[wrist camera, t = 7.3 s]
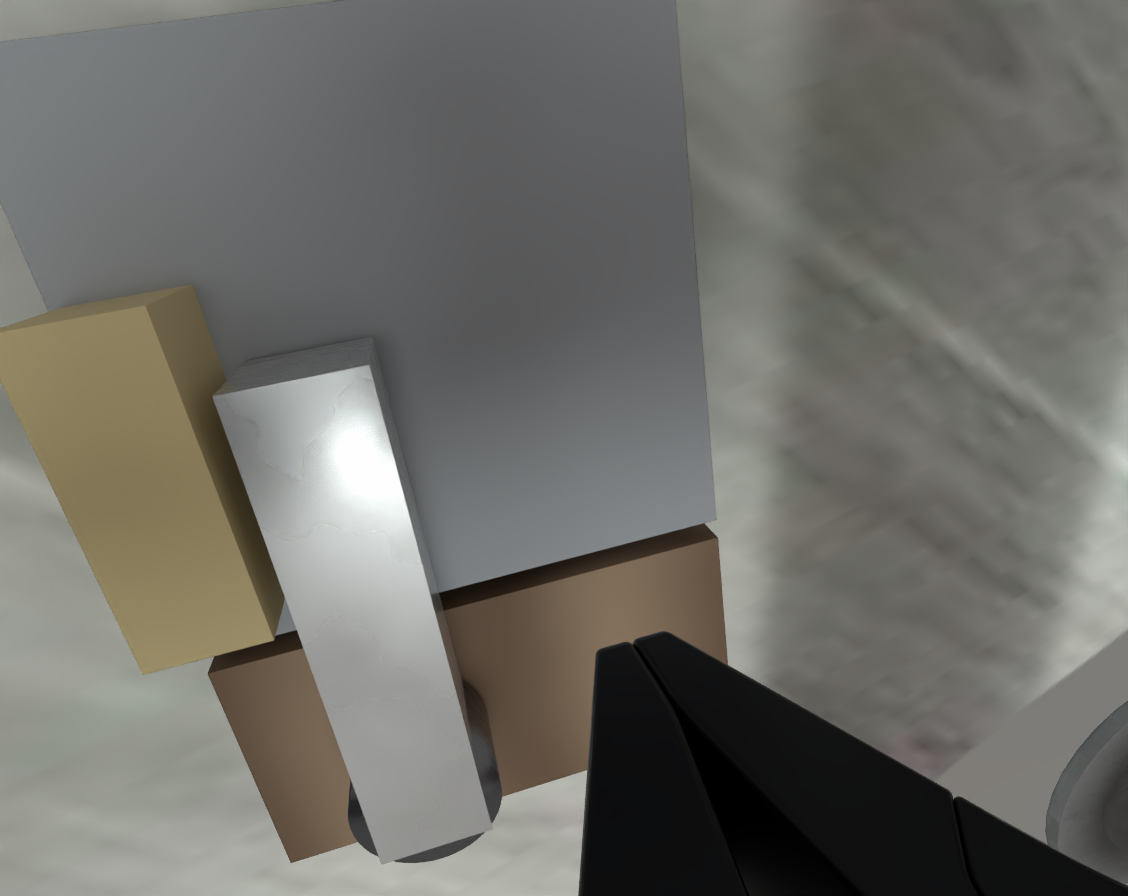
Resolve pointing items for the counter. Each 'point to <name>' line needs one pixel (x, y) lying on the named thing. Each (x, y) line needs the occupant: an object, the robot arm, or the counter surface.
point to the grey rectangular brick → (356, 281)
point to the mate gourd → (1095, 801)
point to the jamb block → (481, 673)
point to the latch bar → (364, 596)
